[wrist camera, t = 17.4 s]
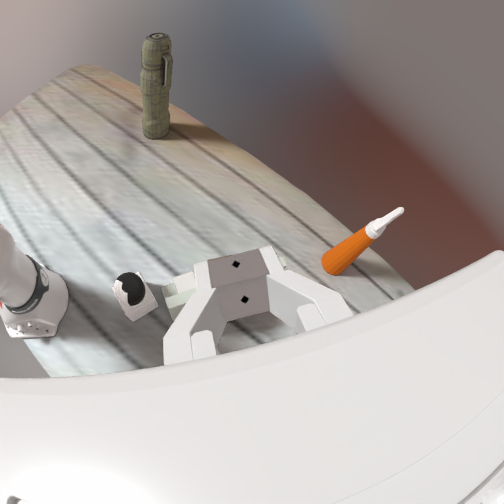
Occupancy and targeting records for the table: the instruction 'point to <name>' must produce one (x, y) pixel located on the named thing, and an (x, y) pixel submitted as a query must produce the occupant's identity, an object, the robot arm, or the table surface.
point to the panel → (183, 296)
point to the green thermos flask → (156, 85)
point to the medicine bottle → (134, 295)
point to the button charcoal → (184, 282)
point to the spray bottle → (356, 244)
